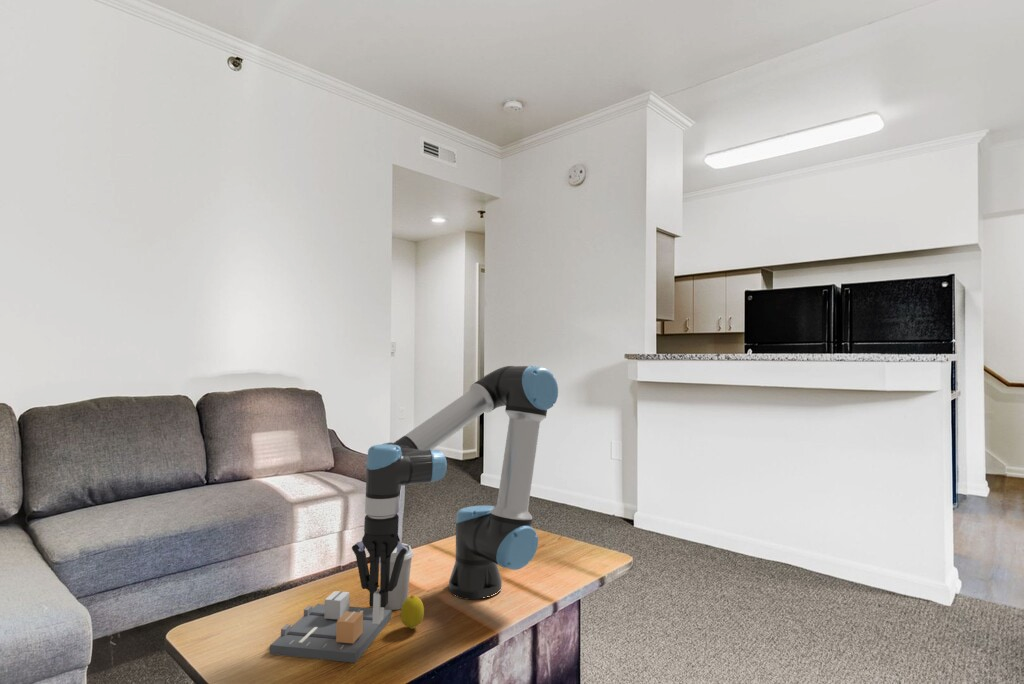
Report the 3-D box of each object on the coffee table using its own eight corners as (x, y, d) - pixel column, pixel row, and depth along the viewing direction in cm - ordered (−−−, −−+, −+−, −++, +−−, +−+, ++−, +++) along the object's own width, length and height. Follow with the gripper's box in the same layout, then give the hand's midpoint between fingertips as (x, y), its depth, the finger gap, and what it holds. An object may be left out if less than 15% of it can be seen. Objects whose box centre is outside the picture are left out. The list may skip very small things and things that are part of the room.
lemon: (401, 623, 135) (402, 591, 136) (424, 623, 136) (425, 590, 136) (399, 634, 130) (399, 600, 130) (422, 634, 130) (423, 600, 131)
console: (391, 618, 138) (391, 604, 138) (355, 662, 118) (356, 646, 118) (317, 611, 141) (317, 598, 141) (269, 654, 121) (269, 638, 121)
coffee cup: (412, 611, 142) (413, 553, 143) (374, 613, 141) (375, 554, 141) (412, 596, 152) (414, 541, 152) (377, 598, 150) (378, 542, 151)
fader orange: (362, 632, 126) (363, 611, 126) (353, 643, 121) (353, 621, 121) (346, 631, 127) (346, 610, 127) (336, 641, 122) (336, 620, 122)
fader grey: (349, 610, 137) (349, 591, 137) (339, 619, 132) (340, 599, 132) (334, 609, 138) (334, 590, 138) (324, 618, 133) (324, 598, 133)
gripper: (414, 512, 127) (411, 616, 125) (361, 508, 128) (357, 611, 127) (403, 520, 119) (399, 631, 118) (347, 516, 121) (343, 625, 120)
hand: (377, 620), depth 123 cm, fingers closed
